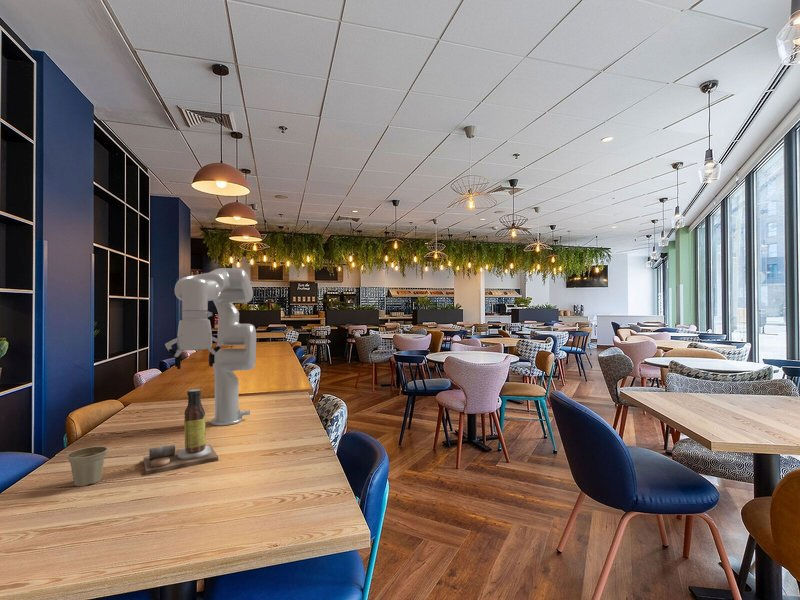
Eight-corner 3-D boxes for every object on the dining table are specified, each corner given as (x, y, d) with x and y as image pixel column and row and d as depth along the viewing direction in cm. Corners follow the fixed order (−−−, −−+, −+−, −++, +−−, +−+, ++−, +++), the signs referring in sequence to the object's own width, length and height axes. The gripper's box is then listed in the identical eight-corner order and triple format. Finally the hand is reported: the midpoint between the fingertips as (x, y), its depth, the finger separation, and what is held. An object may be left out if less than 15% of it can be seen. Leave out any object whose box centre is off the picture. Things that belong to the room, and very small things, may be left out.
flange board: (210, 448, 144) (210, 435, 145) (218, 460, 133) (218, 446, 133) (143, 460, 133) (143, 446, 133) (145, 475, 122) (145, 460, 122)
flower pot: (62, 492, 111) (62, 460, 111) (70, 479, 119) (71, 449, 119) (104, 485, 115) (104, 454, 115) (110, 473, 123) (110, 444, 123)
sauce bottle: (209, 448, 137) (210, 389, 137) (193, 454, 131) (193, 392, 132) (196, 445, 140) (196, 387, 140) (179, 451, 134) (180, 390, 134)
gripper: (220, 315, 144) (220, 363, 144) (164, 316, 134) (164, 368, 134) (225, 315, 138) (225, 366, 138) (166, 316, 128) (166, 371, 128)
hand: (195, 367), depth 136 cm, fingers open, 9 cm apart
